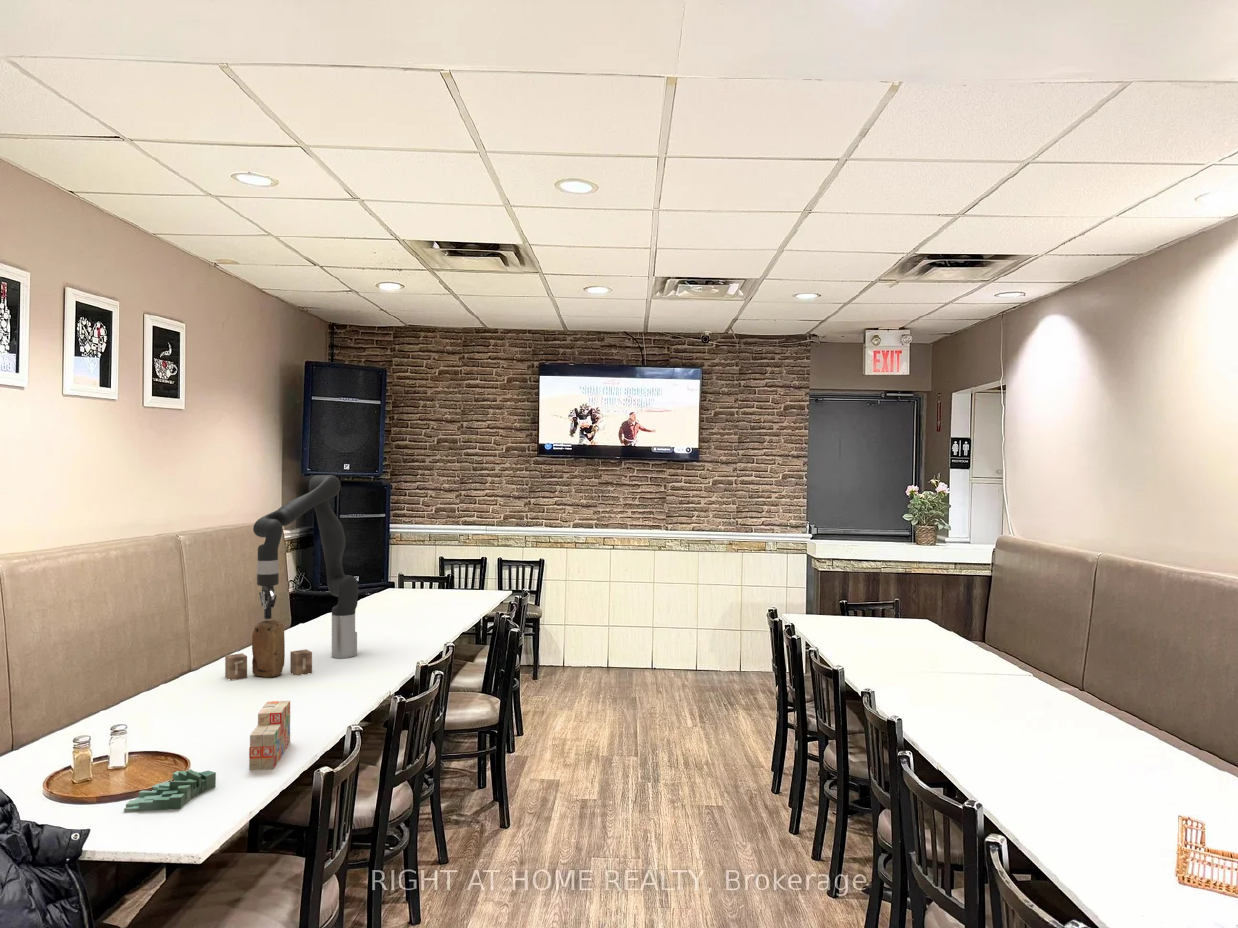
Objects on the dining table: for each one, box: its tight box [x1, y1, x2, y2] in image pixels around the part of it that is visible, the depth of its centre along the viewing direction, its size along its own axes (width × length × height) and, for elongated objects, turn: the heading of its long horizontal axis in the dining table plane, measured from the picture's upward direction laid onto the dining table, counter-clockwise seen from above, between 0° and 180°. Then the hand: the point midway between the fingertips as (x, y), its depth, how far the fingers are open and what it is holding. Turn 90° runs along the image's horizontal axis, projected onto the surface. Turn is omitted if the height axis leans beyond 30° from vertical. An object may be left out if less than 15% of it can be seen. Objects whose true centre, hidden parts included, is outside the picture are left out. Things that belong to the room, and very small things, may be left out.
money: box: [123, 769, 217, 813], centre depth 203 cm, size 20×16×5 cm
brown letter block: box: [224, 652, 248, 681], centre depth 312 cm, size 6×6×8 cm
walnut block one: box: [289, 648, 313, 676], centre depth 319 cm, size 6×6×8 cm
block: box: [251, 619, 286, 678], centre depth 315 cm, size 11×8×20 cm
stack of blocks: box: [248, 700, 291, 771], centre depth 229 cm, size 21×6×12 cm, turn 11°
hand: (267, 618), depth 315 cm, fingers closed
